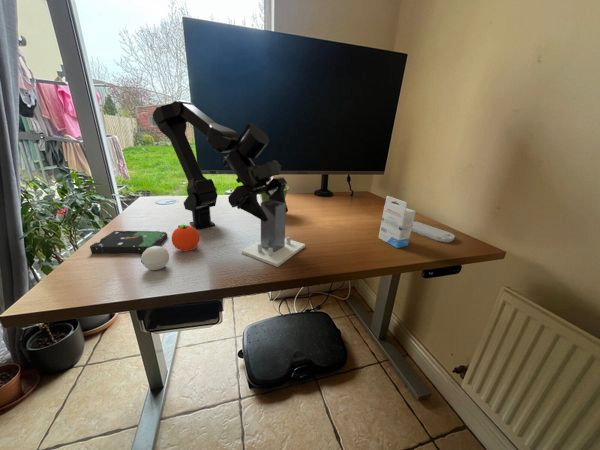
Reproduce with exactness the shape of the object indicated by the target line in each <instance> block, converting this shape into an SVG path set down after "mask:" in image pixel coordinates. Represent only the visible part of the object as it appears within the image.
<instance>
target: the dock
mask: <svg viewBox="0 0 600 450" xmlns="http://www.w3.org/2000/svg"><path fill="white" fill-rule="evenodd" d="M304 248H306V244H305V243H302V242H298V241H296V240H293V239H292V237H291V236H286V237H285V246H284V247H283V248H281V249H279V250H278V251H276V252H273V248H271V247H270V248H268V249H265V248H262V244H261V240H259V241H257V242H256V243H253V244H252V245H250V246H248V247H245V248H244V249H243V250H241V254H243V255H246V256H248V257H250V258H253V259H256V260H258V261H260V262H264V263H266V264H269V265H271V266H274V267H277V268H278V267H280V266H281V265H282V264H284V263H285V262H286V261H287V260H289V259H291V258H292V257H293V256H295V255H296V254H298V252H300V251H301V250H303V249H304Z"/></svg>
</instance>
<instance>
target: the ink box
mask: <svg viewBox="0 0 600 450" xmlns="http://www.w3.org/2000/svg"><path fill="white" fill-rule="evenodd" d="M385 198H386V199H385V203H384V207H383V212H382V217H381V222H380V226H379V227H380V228H379V233H378V239H380V240H381V241H383V242H385V243H386V244H389V245H391V246H392V247H394V248H395V249H399V248H404V247H408V246H409V241H410V238H411V237H410V236H411V234H412V231H411V229H412V225H413V221H415V215H416V210H413V209H410V208H408V207H407V205H408V203H407V201H404V200H401V199H398V198H395V197H393V196H390V195H387V196H386V197H385ZM396 203H397V204H396Z"/></svg>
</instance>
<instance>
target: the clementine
mask: <svg viewBox="0 0 600 450" xmlns="http://www.w3.org/2000/svg"><path fill="white" fill-rule="evenodd" d="M200 240H201V238H200V233H199V231H198V229H195V228H194V227H193V226H192V225H189V224H188V225H186V224H180V225H179V224H178V226H177V228H176V229H174V231H173V232H172V235H171V244H172V245H173V246H174V248H175V249H177V250H179V251H181V252H189V251H192V250H194V249H195V248H196V247H197V246H198V245H199V243H200Z"/></svg>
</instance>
